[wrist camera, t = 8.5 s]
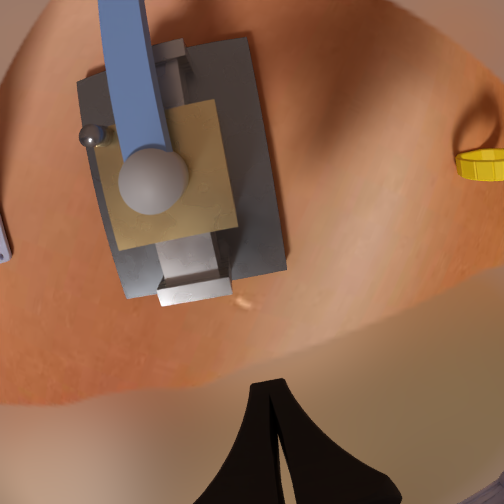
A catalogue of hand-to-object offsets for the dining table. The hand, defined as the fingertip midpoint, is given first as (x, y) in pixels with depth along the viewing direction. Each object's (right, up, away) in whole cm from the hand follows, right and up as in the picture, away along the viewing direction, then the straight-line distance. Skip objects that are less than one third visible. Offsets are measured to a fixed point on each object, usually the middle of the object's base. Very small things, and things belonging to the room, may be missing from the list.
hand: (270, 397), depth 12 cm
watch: (+17, +13, +8) cm, 23 cm away
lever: (-6, +13, 0) cm, 14 cm away
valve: (-5, +11, +7) cm, 14 cm away
